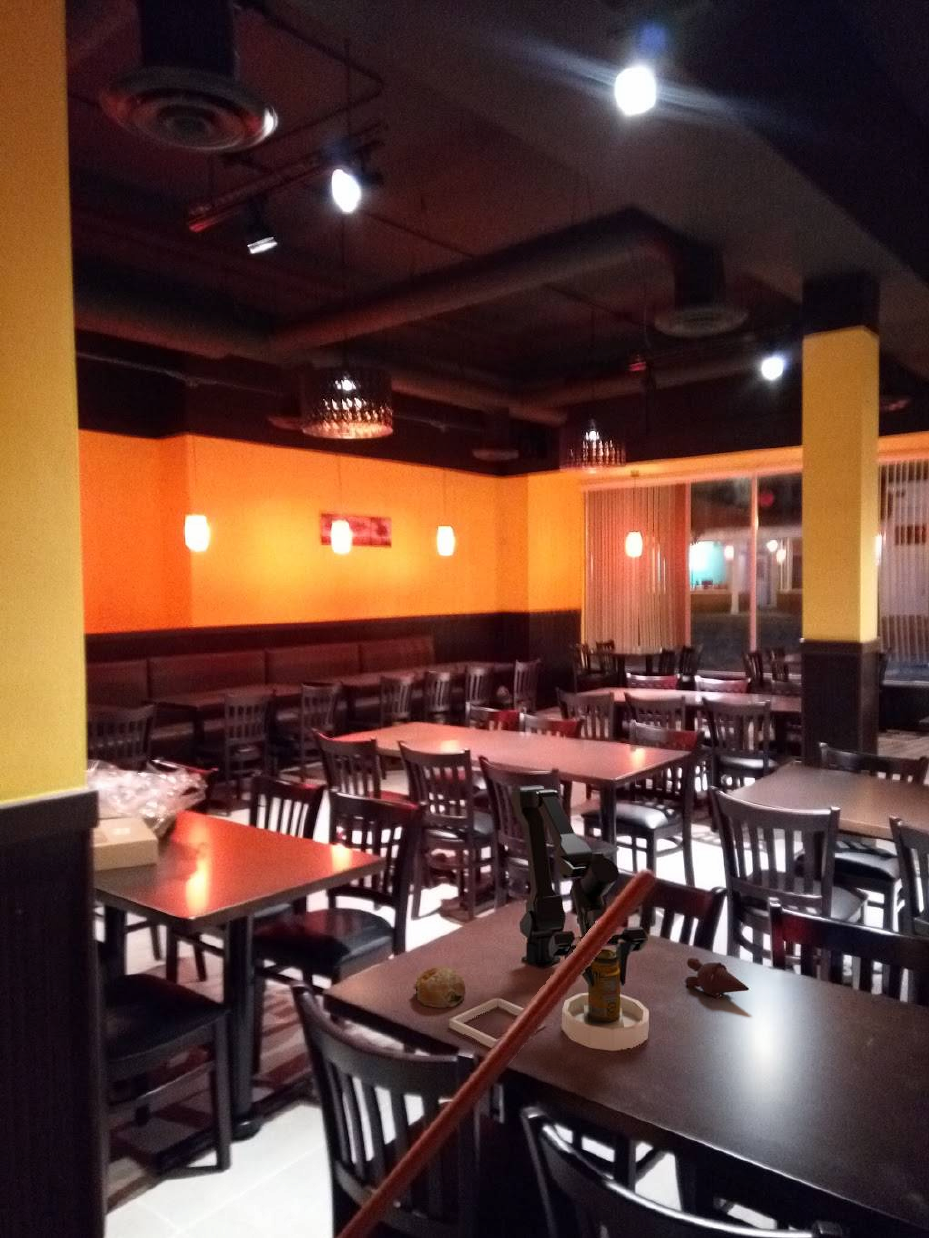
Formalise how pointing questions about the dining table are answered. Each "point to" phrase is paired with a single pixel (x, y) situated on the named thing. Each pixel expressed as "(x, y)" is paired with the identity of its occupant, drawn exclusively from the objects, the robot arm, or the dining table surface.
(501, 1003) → the square frame
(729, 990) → the icecream
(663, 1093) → the dining table surface
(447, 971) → the bread roll
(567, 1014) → the bowl
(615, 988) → the condiment
